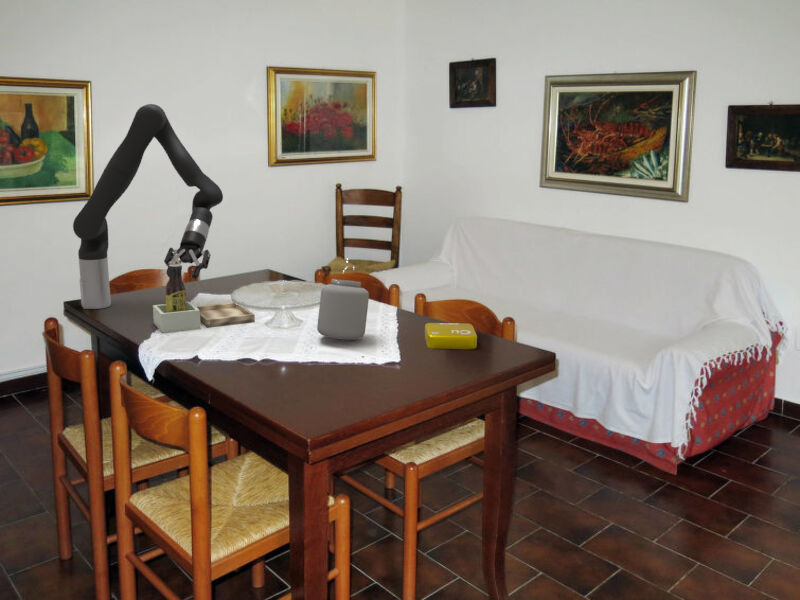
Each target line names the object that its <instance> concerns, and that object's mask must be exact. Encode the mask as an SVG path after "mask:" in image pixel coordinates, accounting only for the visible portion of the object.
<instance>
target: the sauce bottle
mask: <svg viewBox="0 0 800 600" xmlns="http://www.w3.org/2000/svg"><path fill="white" fill-rule="evenodd" d="M182 269H183V265H182V264H180V265H179V264H174V263H173V264H172V265H169V277H168V278H169V279H168V281H167V282H166V284H165V285H166V286H165V304H166V313H170V312H179V311H186V302H187V290H186V287H185V285H184V282H183V281H184V280H183V277H182V271H183V270H182Z"/></svg>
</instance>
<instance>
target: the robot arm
mask: <svg viewBox="0 0 800 600" xmlns="http://www.w3.org/2000/svg"><path fill="white" fill-rule="evenodd" d="M132 119H133V120H132V122H131V125H130V126H129V129H128V131H127V133H126V135H125V137H124V139H123V140H122V141H121V143H119V146H118V147H117V149H116V150H115V152H114V153H113V155H112V156H111V158H110V159H109V161H108V162H107V164H106V166H105V168H104V169H103V171H102V173H101V175H100V177H99V179H98V180H97V183H96V184H95V187H94V188H93V191H92V193H91V196H90V197H89V199H88V200H87V202H86V203H85V204H84V206H83V207H82V209H81V210H80V211H79V212H78V214H77V215H76V216H75V218H74V220H73V224H72V229H73V233H74V234H75V236H76V237H78V238H79V239H80V246H79V249H78V253H77V254H78V267H79V287H80V289H79V290H80V291H79V293H80V302H81V307H82V309H84V310H99V309H105V308H108V307H110V306H111V305H112V303H111V291H110V290H111V287H110V277H109V276H110V275H109V274H110V273H109V272H110V271H109V261H108V259H109V258H108V250H109V225H108V221H107V219H106V218H107V216H108V213H109V212H110V210H111V209H112V207H113V206H114V205H115V204H116V202H118V200H119V199H120V198H121V197H122V196H123V194H124V193H125V192H126V191H127V190H128V188H129V187H130V185H131V184H132V182H133V180H134V178H135V177H136V174H137V173H138V170H139V168H140V166H141V163H142V160H143V158H144V154H145V152H146V150H147V149H148V146H149V145H150V143H151V142H152V140H153V139H154V138H155V140H156V141H158V143H159V144H160V145H161V147H162V149H163V150H164V152H165V154H166V156H167V157H168V160H169V161H170V162H171V165H172V166H173V168H174V170H175V171H176V173H177V174H178V175H179V177H180V178H181V179H182V182H184V184H185V185H186V186H187V187H192V188H193V187H195V188H197V189H199V190H198V191H197V192H196V193H194V196H193V198H192V205H191V207H192V208H191V214H190V217H189V221H188V223H187V224H186V227H185V229H184V232H183V234H182V238H181V241H180V243H179V244H180V245H179V248H178V249H174V248H173V247H169V248H168V250H167V253H166V255H165V258H164V261H163V262H164V264H165V266H166V267H167V269H166V272H165V273H166V275H167V277H168V278H169V265H172V264H179V265H182V264H187V263H188V264H193V263H194V264H195V266H194V268H193V270H192V273H191V277H192V279H193V280H197V279H198V277H199V275H200V273H201V270H202V269H208V267H209V263H210V259H211V252H210V251H209V249H205V250H204V248H205V245H206V242H207V239H208V236H209V232H210V228H211V225H212V221H213V213H212V211H211V209H212V208H214V207H216V206H218V205H220V204H221V203H222V201H223V200H224V194H223V191H222V189H221V188H220V186H219V185H218V184H217V183H216V182H214V180H212V179H211V178H210V177H209V176H208V175H206V174H205V173H204V172H203V171H202V169H201V168H200V166H199V165H198V164H197V162H196V161H195V159H194V158H193V157H192V155H191V154H190V153H189V151H188V150H187V148H186V146H184V144H183V142H182V141H181V140H180V138H179V137H178V135H177V134H176V132H175V130H174V129H173V127H172V124H171V123H170V121H169V118H168V117H167V115H166V112H165V111H164V109H163V108H162V107H161V106H159V105H157V104H155V103H148V104H145V105H142V106H141V107H139V108H137V111H136V112H135V114H134V117H133V118H132ZM201 257H202V260H201V263H200V261H199V259H200V258H201Z"/></svg>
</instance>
